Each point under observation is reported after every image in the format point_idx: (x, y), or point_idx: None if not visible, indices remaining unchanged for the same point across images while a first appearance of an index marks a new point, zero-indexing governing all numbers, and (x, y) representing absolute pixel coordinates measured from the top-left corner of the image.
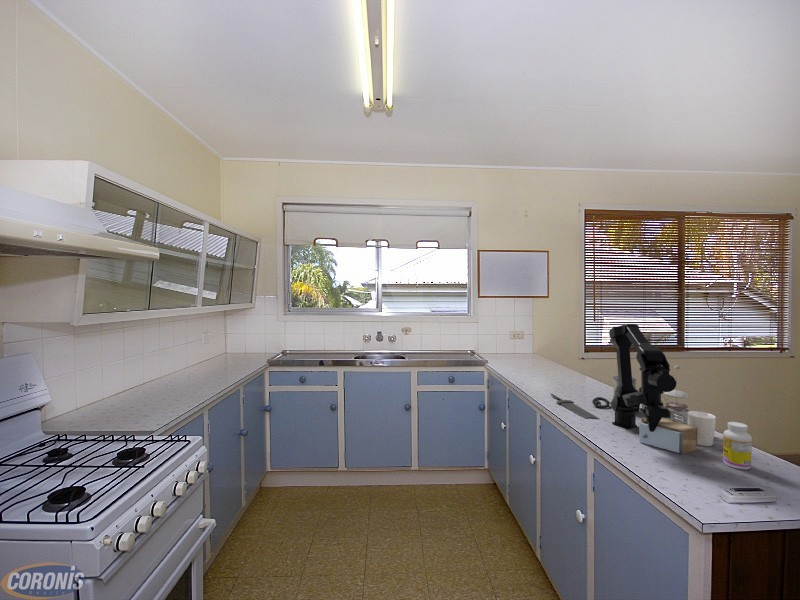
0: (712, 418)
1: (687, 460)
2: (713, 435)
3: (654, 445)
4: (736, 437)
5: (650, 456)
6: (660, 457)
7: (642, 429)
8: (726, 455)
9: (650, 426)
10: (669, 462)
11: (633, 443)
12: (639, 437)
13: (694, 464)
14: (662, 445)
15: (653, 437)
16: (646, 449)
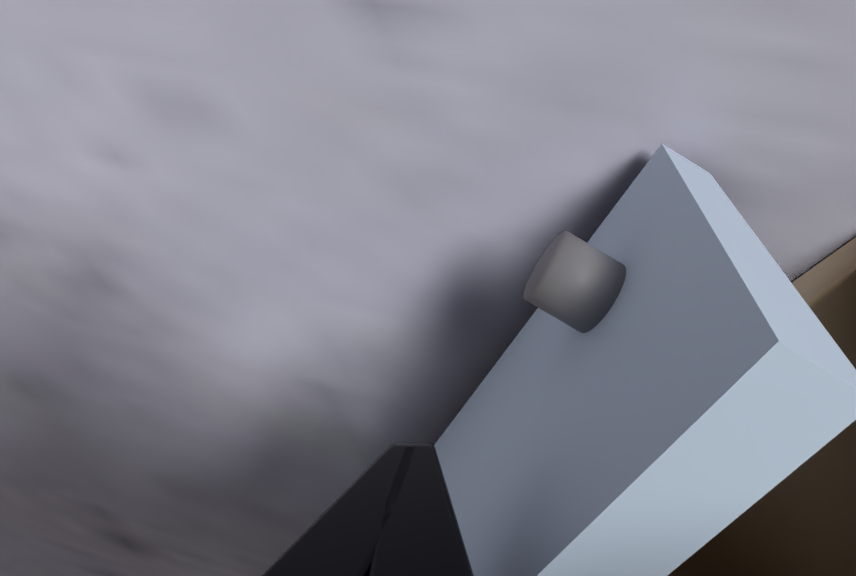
0: None
1: (223, 537)
2: None
3: (512, 345)
4: None
5: (97, 194)
6: (142, 308)
7: (660, 312)
8: None
9: (313, 555)
10: (46, 362)
11: (584, 19)
12: (675, 170)
13: (151, 555)
14: (447, 444)
15: (513, 414)
16: (358, 196)
